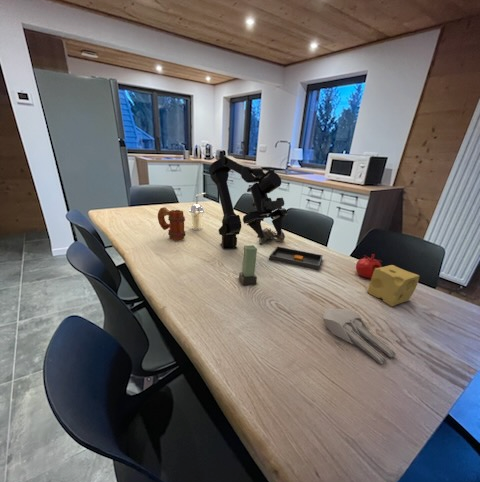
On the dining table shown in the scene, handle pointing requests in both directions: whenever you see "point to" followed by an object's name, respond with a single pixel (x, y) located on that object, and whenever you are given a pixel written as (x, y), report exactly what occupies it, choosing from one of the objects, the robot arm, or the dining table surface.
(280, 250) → the pan
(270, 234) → the brown spiky lump
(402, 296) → the cheese
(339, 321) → the turret
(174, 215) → the mug
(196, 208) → the cup with straw
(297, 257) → the crust
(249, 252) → the brush
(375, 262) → the pomegranate
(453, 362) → the dining table surface
